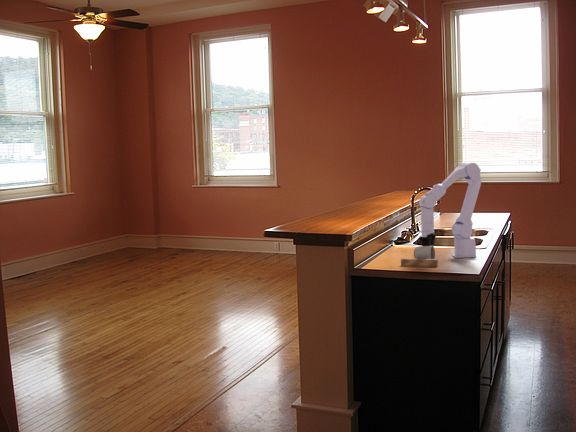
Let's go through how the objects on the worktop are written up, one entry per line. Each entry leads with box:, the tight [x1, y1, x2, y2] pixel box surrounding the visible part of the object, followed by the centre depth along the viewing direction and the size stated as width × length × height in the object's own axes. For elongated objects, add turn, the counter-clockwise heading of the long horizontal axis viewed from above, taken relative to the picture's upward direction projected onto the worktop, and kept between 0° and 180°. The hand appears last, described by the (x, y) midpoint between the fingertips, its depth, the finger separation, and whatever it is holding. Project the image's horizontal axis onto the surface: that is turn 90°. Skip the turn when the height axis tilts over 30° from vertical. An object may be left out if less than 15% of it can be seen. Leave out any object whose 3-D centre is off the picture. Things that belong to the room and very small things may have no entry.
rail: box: [400, 257, 439, 268], centre depth 287 cm, size 16×2×3 cm, turn 64°
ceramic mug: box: [413, 245, 436, 259], centre depth 293 cm, size 11×8×8 cm
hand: (428, 250), depth 302 cm, fingers open, 7 cm apart
